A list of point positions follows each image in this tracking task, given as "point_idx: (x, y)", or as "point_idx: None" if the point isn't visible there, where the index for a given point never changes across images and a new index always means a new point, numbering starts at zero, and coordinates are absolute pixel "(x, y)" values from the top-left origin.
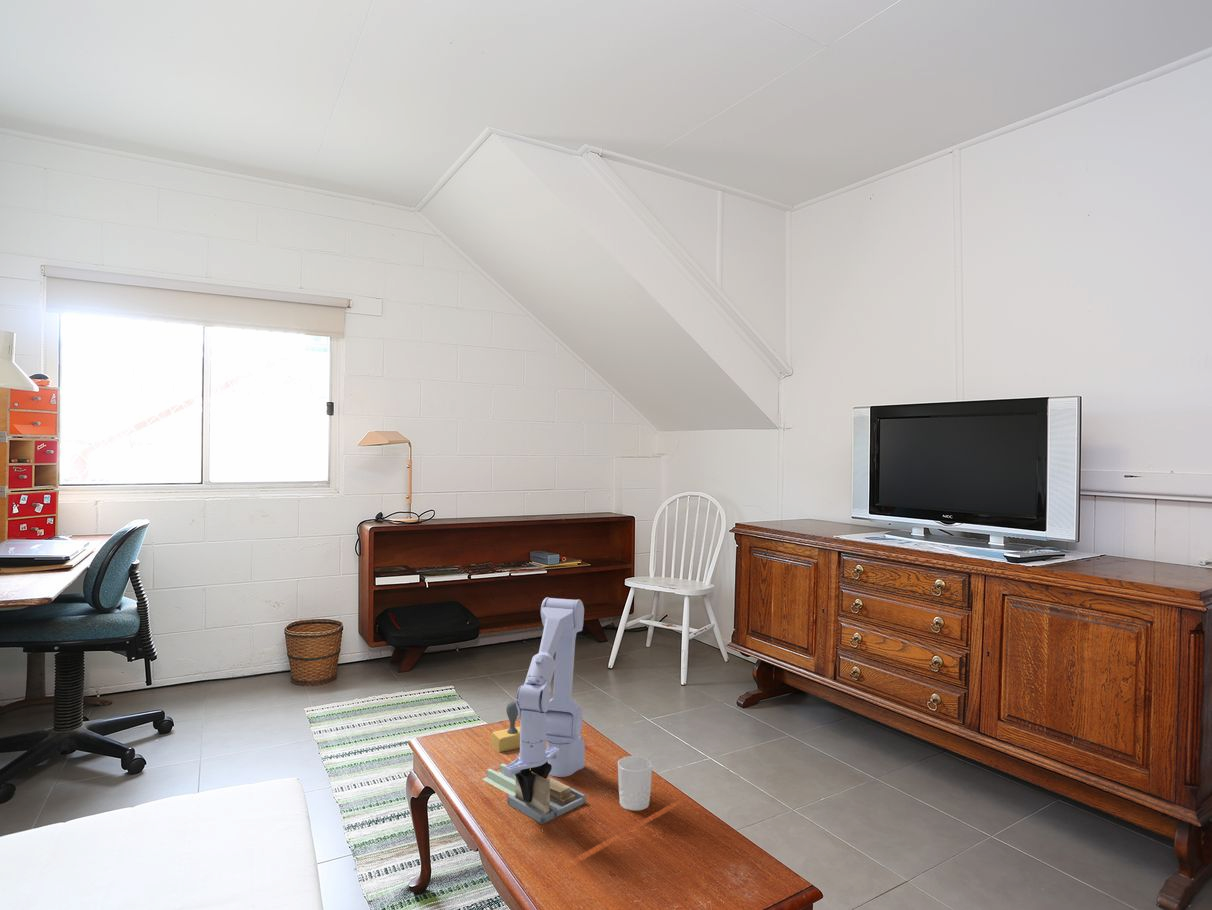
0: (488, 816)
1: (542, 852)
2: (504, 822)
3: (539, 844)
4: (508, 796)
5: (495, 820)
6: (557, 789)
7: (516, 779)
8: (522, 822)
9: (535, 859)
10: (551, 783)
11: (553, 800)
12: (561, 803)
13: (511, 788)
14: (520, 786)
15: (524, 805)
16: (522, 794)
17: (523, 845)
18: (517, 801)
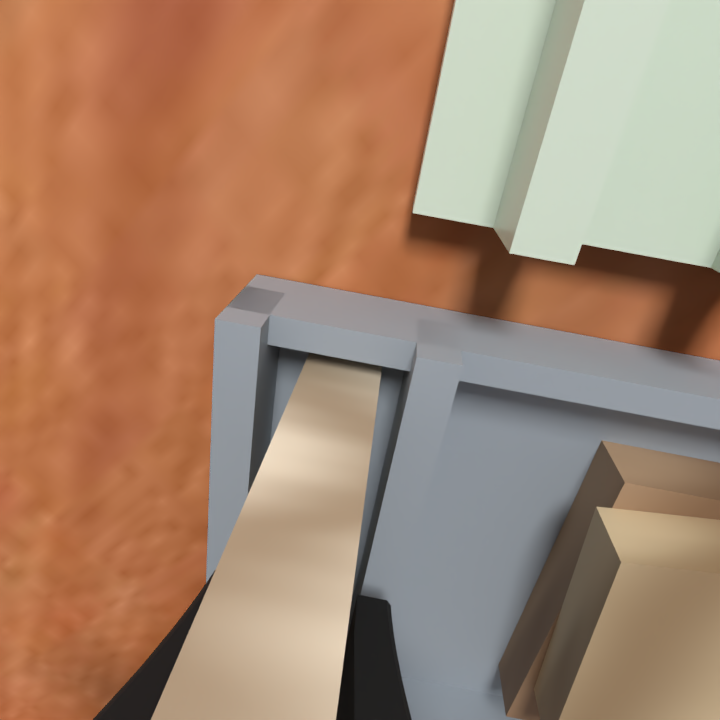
0: (16, 233)
1: (71, 716)
2: (77, 412)
3: (103, 683)
4: (216, 334)
5: (34, 334)
6: (591, 717)
7: (224, 562)
8: (183, 512)
9: (10, 716)
10: (699, 634)
11: (538, 598)
12: (508, 674)
13: (538, 88)
14: (106, 710)
15: (207, 565)
16: (187, 611)
17: (26, 634)
18: (213, 477)
